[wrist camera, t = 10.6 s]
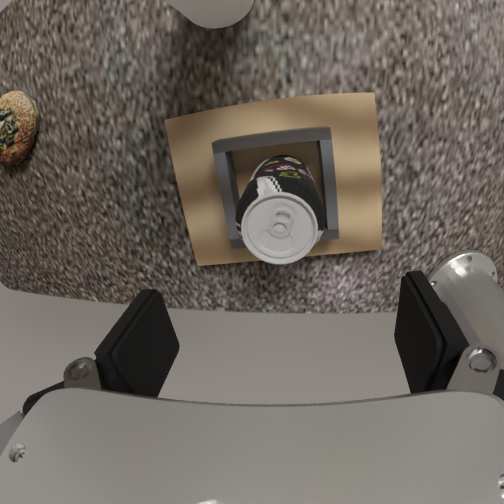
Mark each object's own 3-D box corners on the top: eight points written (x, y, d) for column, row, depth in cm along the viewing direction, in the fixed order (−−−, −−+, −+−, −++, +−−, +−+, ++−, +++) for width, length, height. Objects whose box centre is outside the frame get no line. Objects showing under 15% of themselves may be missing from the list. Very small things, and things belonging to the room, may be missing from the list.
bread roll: (9, 179, 32) (-15, 184, 28) (-5, 118, 30) (-28, 118, 25) (52, 138, 30) (25, 140, 25) (36, 73, 27) (11, 68, 22)
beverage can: (319, 162, 27) (340, 197, 16) (303, 217, 30) (311, 282, 19) (259, 147, 27) (241, 172, 16) (246, 203, 30) (222, 261, 19)
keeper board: (378, 244, 31) (389, 262, 28) (200, 260, 35) (189, 280, 31) (370, 93, 24) (383, 90, 21) (168, 119, 28) (151, 121, 24)
